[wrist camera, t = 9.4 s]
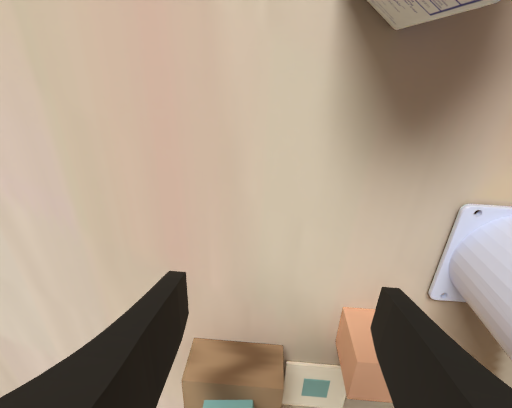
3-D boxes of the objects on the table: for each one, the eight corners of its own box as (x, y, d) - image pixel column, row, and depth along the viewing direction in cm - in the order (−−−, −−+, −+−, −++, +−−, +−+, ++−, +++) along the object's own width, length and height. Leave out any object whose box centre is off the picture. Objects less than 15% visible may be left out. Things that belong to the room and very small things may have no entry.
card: (352, 366, 28) (353, 370, 27) (341, 406, 30) (342, 410, 30) (286, 361, 28) (286, 364, 28) (281, 401, 31) (281, 405, 30)
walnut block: (282, 345, 27) (283, 389, 24) (276, 400, 31) (276, 446, 27) (194, 338, 27) (181, 380, 24) (197, 393, 31) (187, 437, 27)
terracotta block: (392, 310, 25) (418, 366, 20) (381, 344, 27) (403, 403, 22) (342, 306, 25) (357, 361, 20) (335, 341, 27) (347, 398, 22)
